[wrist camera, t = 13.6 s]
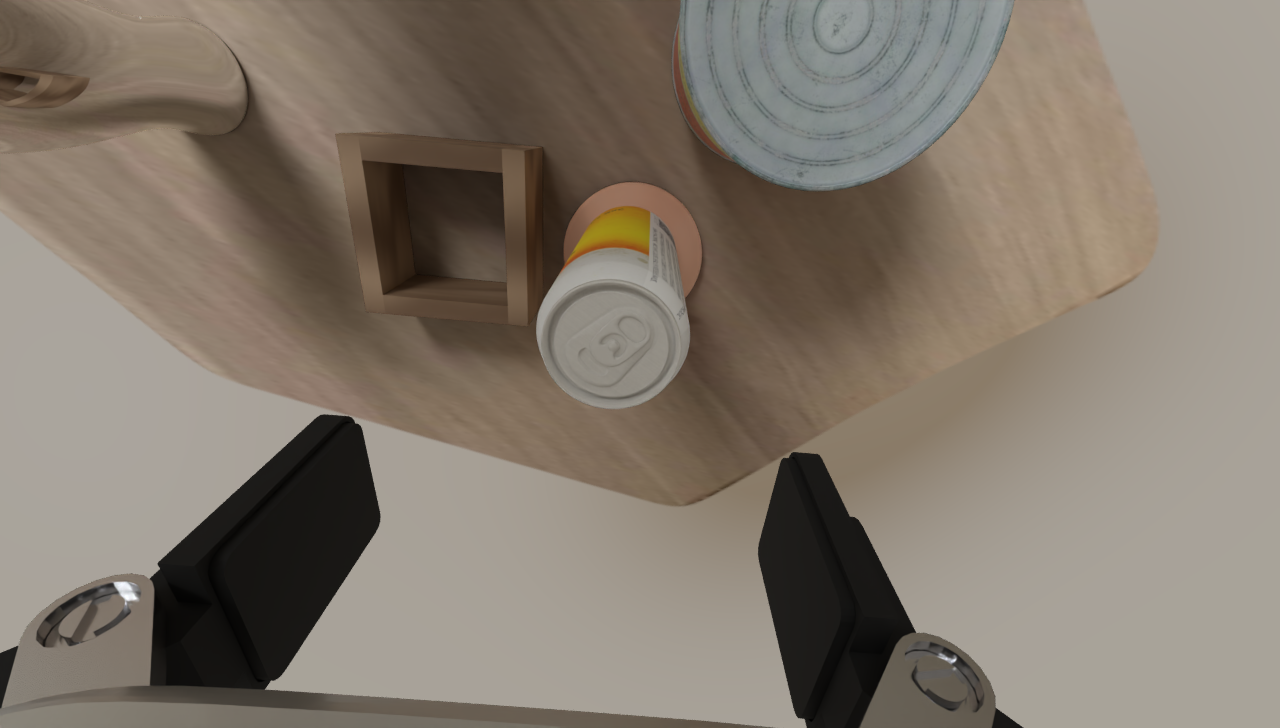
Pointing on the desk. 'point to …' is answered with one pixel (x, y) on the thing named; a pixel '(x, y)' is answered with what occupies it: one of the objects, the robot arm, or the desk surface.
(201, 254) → the desk surface
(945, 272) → the desk surface
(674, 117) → the desk surface
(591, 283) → the beer can
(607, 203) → the peach flat disc
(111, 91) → the beer glass
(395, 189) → the can holder
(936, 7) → the canned food
